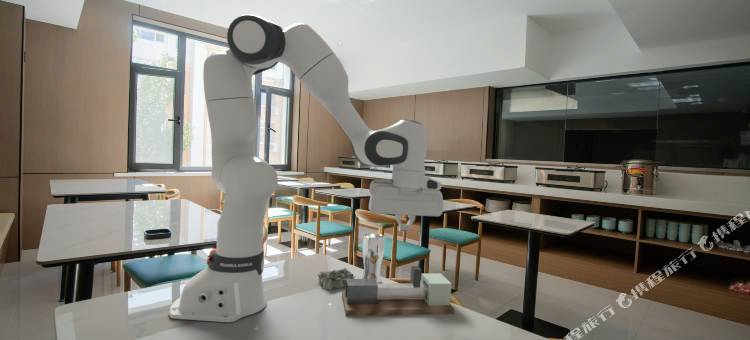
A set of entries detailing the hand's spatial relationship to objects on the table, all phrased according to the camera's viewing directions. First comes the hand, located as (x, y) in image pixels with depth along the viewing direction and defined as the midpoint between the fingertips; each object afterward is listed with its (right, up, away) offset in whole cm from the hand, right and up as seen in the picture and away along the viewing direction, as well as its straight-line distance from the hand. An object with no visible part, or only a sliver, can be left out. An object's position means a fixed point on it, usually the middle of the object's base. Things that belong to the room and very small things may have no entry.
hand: (403, 230), depth 100 cm
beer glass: (-9, -20, +18) cm, 28 cm away
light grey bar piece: (-1, -18, +1) cm, 18 cm away
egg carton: (-20, -19, +14) cm, 32 cm away
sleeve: (-12, -19, -1) cm, 22 cm away
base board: (-2, -21, +1) cm, 21 cm away
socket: (+9, -21, +3) cm, 23 cm away
